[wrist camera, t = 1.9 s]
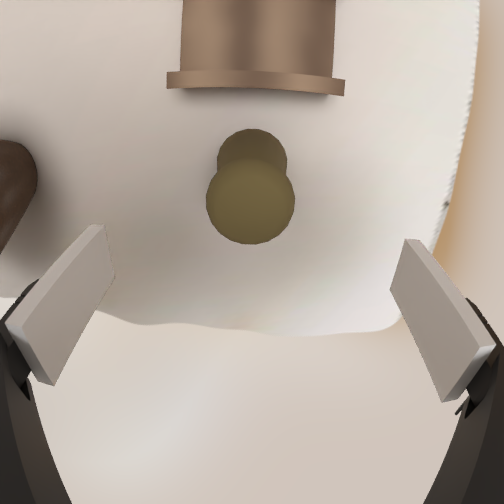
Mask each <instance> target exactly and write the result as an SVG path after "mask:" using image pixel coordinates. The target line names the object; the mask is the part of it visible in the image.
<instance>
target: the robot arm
mask: <svg viewBox="0 0 504 504" xmlns="http://www.w3.org/2000/svg"><path fill="white" fill-rule="evenodd" d="M114 278H115V274H114V269H113V265H112V260H111V255H110V250H109V245H108V240H107V234H106V228H105V225H91V224H90V225H89V226H88V227H87V228H86V229H85V230H84V231H83V232H82V234H81V235H80V236H79V237H78V238H77V239H76V240H75V241H74V242H73V243H72V244H71V245H70V246H69V247H68V248H67V249H66V250H65V251H64V252H63V254H62V255H61V256H60V257H59V258H58V259H57V260H56V261H55V262H54V263H53V265H52V266H51V267H50V268H49V269H48V270H47V271H46V273H45V274H44V275H43V276H42V277H41V278H40V279H37V280H36V281H35V282H33V283H32V284H30V285H29V286H28V287H27V288H26V289H25V290H24V291H23V292H22V294H21V296H19V297H18V299H17V300H16V301H15V303H13V305H12V306H11V307H10V308H9V310H8V311H7V312H6V314H5V315H4V316H3V317H2V319H1V320H0V504H72V503H71V501H70V498H69V496H68V494H67V492H66V490H65V487H64V485H63V483H62V481H61V478H60V475H59V473H58V470H57V468H56V465H55V463H54V460H53V457H52V455H51V452H50V449H49V446H48V443H47V440H46V437H45V434H44V431H43V428H42V425H41V421H40V417H39V414H38V411H37V407H36V403H35V399H34V395H33V391H32V386H31V383H30V381H29V379H28V378H27V377H28V375H29V373H30V372H31V371H32V373H33V374H34V376H35V377H36V379H37V380H38V381H39V382H42V383H45V384H48V385H52V386H55V384H56V382H57V379H58V378H59V376H60V374H61V372H62V370H63V367H64V366H65V364H66V362H67V360H68V358H69V356H70V354H71V352H72V350H73V349H74V347H75V345H76V343H77V341H78V340H79V338H80V336H81V333H82V332H83V330H84V329H85V327H86V325H87V323H88V322H89V320H90V318H91V316H92V315H93V313H94V311H95V310H96V308H97V306H98V305H99V303H100V301H101V300H102V298H103V296H104V295H105V293H106V291H107V290H108V288H109V286H110V285H111V283H112V282H113V280H114ZM390 291H391V293H392V295H393V297H394V299H395V301H396V303H397V305H398V307H399V309H400V311H401V313H402V315H403V317H404V319H405V321H406V323H407V325H408V327H409V329H410V331H411V333H412V335H413V337H414V340H415V342H416V344H417V346H418V348H419V351H420V353H421V355H422V357H423V359H424V362H425V364H426V366H427V369H428V371H429V373H430V376H431V378H432V380H433V383H434V385H435V387H436V390H437V392H438V395H439V397H440V400H441V402H447V401H451V400H456V399H458V398H459V397H460V396H461V394H462V393H463V392H464V390H465V389H467V391H468V393H469V396H468V397H467V399H466V400H465V401H464V402H463V404H462V405H461V406H460V407H459V408H458V410H457V411H456V413H455V415H457V414H458V413H459V412H460V411H461V410H462V412H461V415H460V418H459V421H458V424H457V427H456V430H455V433H454V436H453V438H452V441H451V443H450V446H449V449H448V451H447V454H446V456H445V458H444V461H443V463H442V466H441V468H440V470H439V472H438V474H437V477H436V479H435V481H434V483H433V485H432V487H431V489H430V491H429V493H428V495H427V497H426V499H425V501H424V503H423V504H504V346H503V345H502V343H501V342H500V340H499V338H498V337H497V335H496V334H495V332H494V331H493V329H492V328H491V327H490V325H489V324H487V320H486V319H485V317H483V316H482V313H481V312H480V310H479V309H478V308H477V306H476V305H475V304H474V303H472V302H471V301H470V300H469V299H468V298H465V297H464V296H463V295H462V293H461V292H460V291H459V289H458V288H457V287H456V285H455V284H454V283H453V282H452V280H451V279H450V277H449V276H448V275H447V274H446V272H445V271H444V270H443V269H442V267H441V266H440V265H439V263H438V262H437V261H436V260H435V258H434V257H433V256H432V255H431V253H430V252H429V251H428V250H427V249H426V247H425V246H424V245H423V244H422V243H421V241H420V240H413V239H405V241H404V245H403V248H402V252H401V255H400V259H399V262H398V265H397V269H396V272H395V275H394V278H393V281H392V284H391V287H390Z"/></svg>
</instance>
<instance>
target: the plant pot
mask: <svg viewBox="0 0 504 504" xmlns="http://www.w3.org/2000/svg"><path fill="white" fill-rule="evenodd" d="M36 186H37V172H36V167H35V164H34V161H33V158H32V157H31V155H30V153H29V152H28V151H27V149H26V148H25V147H23V146H22V145H20V144H18V143H15V142H11V141H6V140H0V254H1V252H2V250H3V249H4V247H5V245H6V244H7V242H8V240H9V239H10V237H11V235H12V234H13V232H14V230H15V229H16V227H17V225H18V223H19V222H20V220H21V218H22V216H23V214H24V213H25V211H26V209H27V207H28V205H29V203H30V201H31V199H32V197H33V195H34V193H35V190H36Z"/></svg>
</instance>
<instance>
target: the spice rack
mask: <svg viewBox="0 0 504 504" xmlns="http://www.w3.org/2000/svg"><path fill="white" fill-rule="evenodd" d="M335 7H336V0H183V12H182V31H181V57H180V71H178V72H167V89H171V88H194V87H244V88H267V89H283V90H295V91H305V92H315V93H323V94H331V95H338V96H344V87H345V80H343V79H336V78H332V69H333V53H334V33H335Z"/></svg>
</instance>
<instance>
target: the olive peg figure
mask: <svg viewBox="0 0 504 504" xmlns="http://www.w3.org/2000/svg"><path fill="white" fill-rule="evenodd" d="M286 167H287V157H286V153H285V150H284V148H283V146H282V145H281V143H280V142H279V140H278V139H276V138H275V137H274V136H273V135H271V134H270V133H268V132H265V131H262V130H259V129H246V130H242V131H239V132H236V133H234V134H233V135H231V136H230V137H228V138H227V139H226V141H225V142H224V143H223V145H222V146H221V148H220V150H219V153H218V156H217V170H218V172H217V173H216V175H215V176H214V177H213V179H212V180H211V182H210V185H209V188H208V191H207V194H206V208H207V212H208V215H209V217H210V220H211V223H212V224H213V225H214V227H215V228H216V229H217V230H218V232H219V233H220V234H222V235H223V236H225V237H226V238H228V239H229V240H231V241H234V242H238V243H241V244H255V245H256V244H260V243H264V242H268V241H270V240H271V239H273V238H275V237H276V236H278V235H279V234H280V233H281V232H282V231H283V230H284V229H285V228H286V227H287V226H288V224H289V221H290V219H291V217H292V215H293V212H294V204H295V196H294V192H293V188H292V185H291V182H290V181H289V179H288V178H287V176H286Z"/></svg>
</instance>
